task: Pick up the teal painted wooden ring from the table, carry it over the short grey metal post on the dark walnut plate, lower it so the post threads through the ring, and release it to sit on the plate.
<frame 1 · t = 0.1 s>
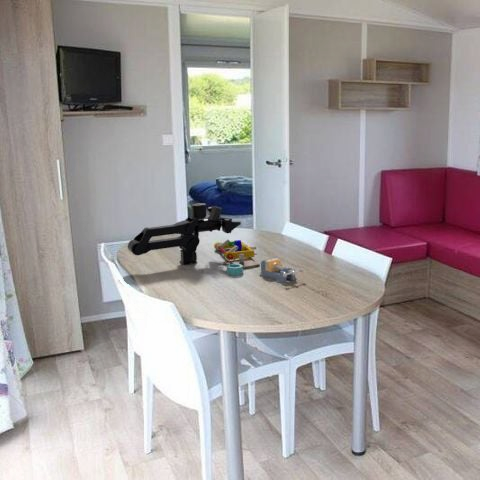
hand: (236, 221, 256), 17 cm above the table, tool horizontal, fingers open, 9 cm apart
post stand: (241, 265, 243), on the table
vise: (280, 278, 224), on the table
yellow jointed frame: (238, 254, 260), on the table, touching post stand
ring: (235, 273, 232), on the table
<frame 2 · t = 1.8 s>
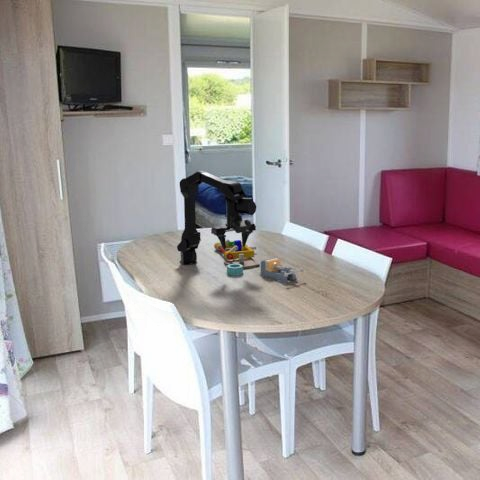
hand: (234, 248, 229), 11 cm above the table, tool pointing down, fingers open, 9 cm apart
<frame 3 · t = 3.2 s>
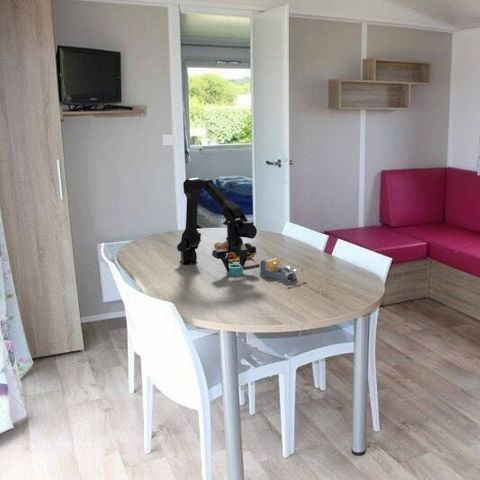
hand: (234, 270, 231), 1 cm above the table, tool pointing down, fingers closed on ring, 6 cm apart
ring: (235, 273, 232), on the table, touching gripper
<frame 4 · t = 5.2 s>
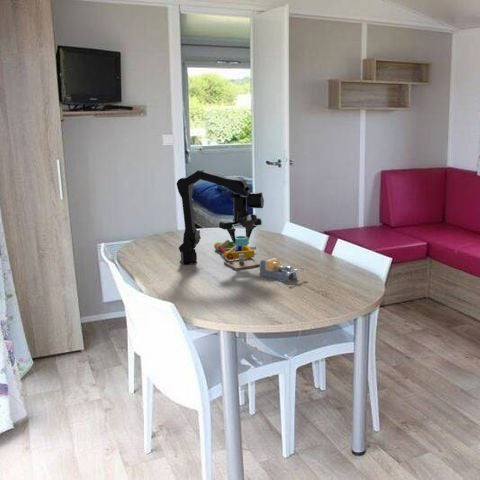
hand: (240, 241, 240), 11 cm above the table, tool pointing down, fingers closed on ring, 6 cm apart
ring: (241, 244, 240), point 10 cm above the table, touching gripper
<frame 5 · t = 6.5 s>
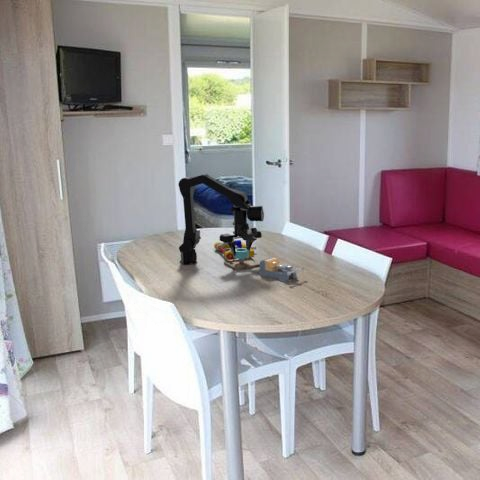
hand: (241, 254, 242), 5 cm above the table, tool pointing down, fingers closed on ring, 6 cm apart
ring: (241, 256, 242), point 4 cm above the table, touching gripper
when the fingers open (4 cm above the table, at t = 7.4 s): ring drops 2 cm, resting on post stand.
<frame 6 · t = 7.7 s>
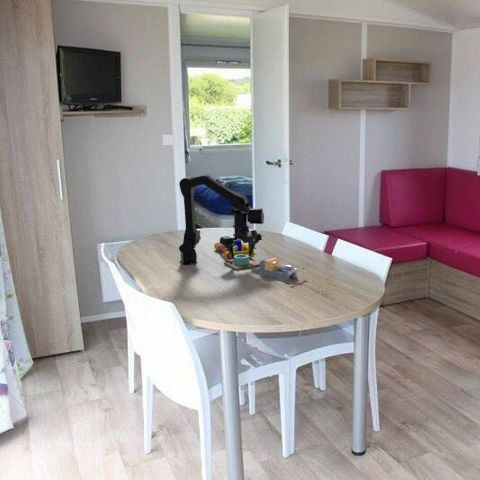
hand: (241, 257, 242), 4 cm above the table, tool pointing down, fingers open, 9 cm apart
ring: (241, 263, 243), point 1 cm above the table, touching post stand
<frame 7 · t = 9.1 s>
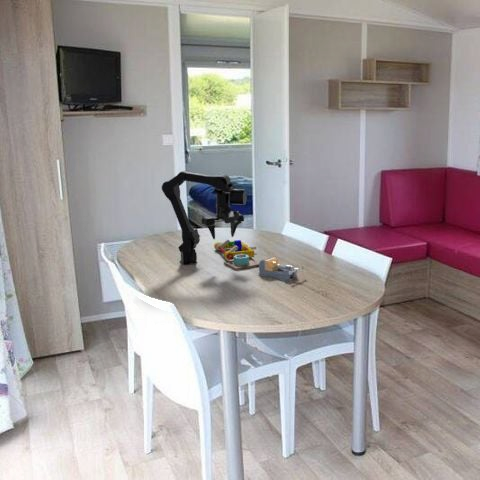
hand: (223, 238, 241), 13 cm above the table, tool pointing down, fingers open, 9 cm apart
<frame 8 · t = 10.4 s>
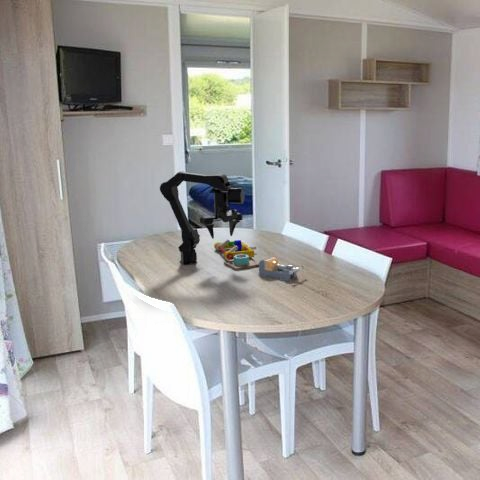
hand: (222, 237, 241), 13 cm above the table, tool pointing down, fingers open, 9 cm apart
at the end: ring 0.0 cm off-centre on the post stand, point 1.0 cm above the post stand's base; ring tilted 0°; the gripper is holding nothing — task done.
